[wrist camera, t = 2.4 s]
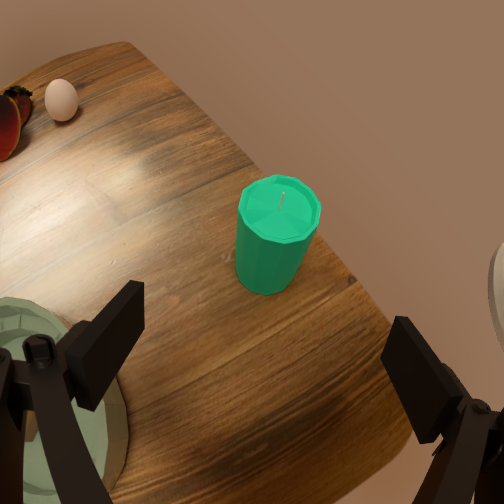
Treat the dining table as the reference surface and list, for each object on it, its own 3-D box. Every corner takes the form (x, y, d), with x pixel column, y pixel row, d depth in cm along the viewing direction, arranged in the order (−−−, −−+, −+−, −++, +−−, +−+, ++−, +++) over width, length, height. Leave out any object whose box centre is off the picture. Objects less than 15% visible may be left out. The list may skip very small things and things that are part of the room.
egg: (48, 131, 40) (32, 94, 33) (61, 109, 42) (47, 74, 36) (76, 127, 40) (61, 88, 34) (87, 105, 43) (75, 68, 36)
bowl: (169, 386, 26) (153, 381, 21) (85, 544, 17) (59, 563, 12) (21, 283, 29) (-8, 260, 24) (-45, 422, 20) (-78, 417, 15)
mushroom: (24, 152, 48) (-27, 178, 35) (8, 96, 42) (-46, 111, 29) (68, 130, 47) (15, 152, 34) (52, 68, 41) (-5, 75, 28)
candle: (291, 239, 34) (318, 161, 23) (298, 294, 31) (333, 231, 20) (234, 240, 33) (237, 160, 23) (236, 296, 31) (240, 231, 20)
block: (52, 400, 23) (21, 395, 19) (32, 441, 21) (0, 443, 16) (17, 367, 24) (-15, 357, 19) (-2, 408, 22) (-35, 403, 17)
